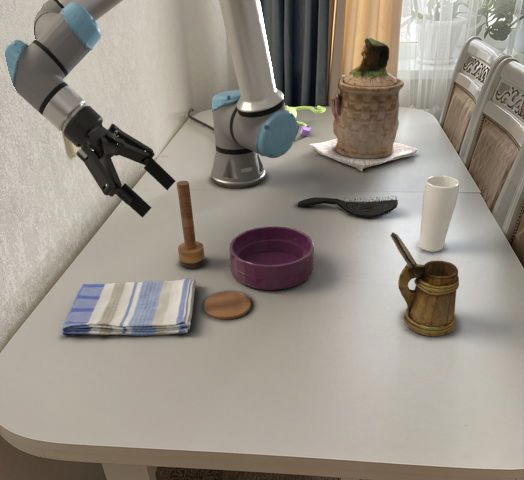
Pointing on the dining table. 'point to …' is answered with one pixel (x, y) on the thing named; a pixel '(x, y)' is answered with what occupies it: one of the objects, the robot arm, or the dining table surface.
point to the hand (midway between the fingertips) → (160, 198)
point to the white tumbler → (437, 211)
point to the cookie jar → (366, 113)
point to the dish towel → (132, 308)
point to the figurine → (304, 128)
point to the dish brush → (188, 231)
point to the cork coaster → (227, 305)
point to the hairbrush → (356, 206)
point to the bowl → (271, 257)
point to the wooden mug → (428, 293)
